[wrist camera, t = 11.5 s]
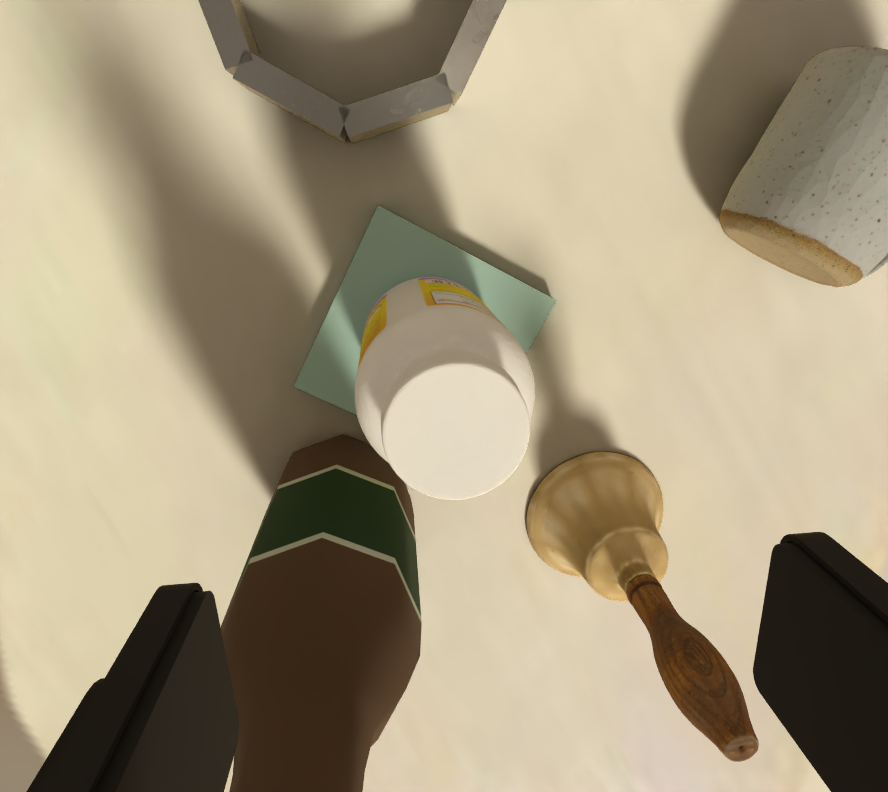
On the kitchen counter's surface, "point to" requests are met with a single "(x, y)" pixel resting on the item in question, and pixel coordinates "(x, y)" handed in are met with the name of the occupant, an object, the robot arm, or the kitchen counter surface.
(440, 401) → the supplement bottle
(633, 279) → the kitchen counter surface
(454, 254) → the pad
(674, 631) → the hand bell
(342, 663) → the beer bottle
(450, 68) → the collar
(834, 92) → the ceramic mug
